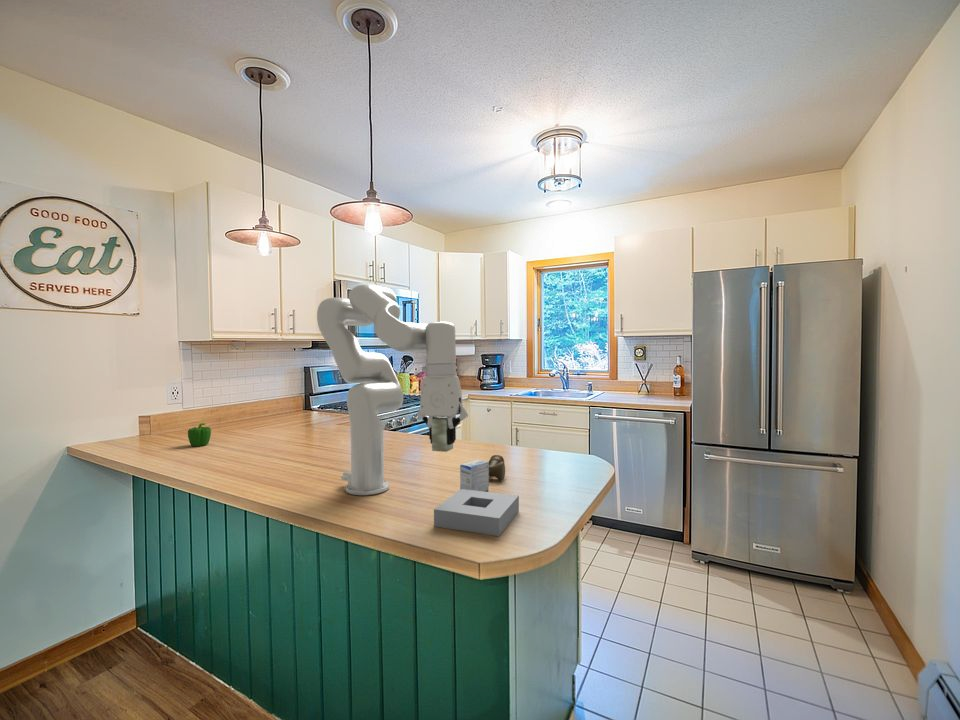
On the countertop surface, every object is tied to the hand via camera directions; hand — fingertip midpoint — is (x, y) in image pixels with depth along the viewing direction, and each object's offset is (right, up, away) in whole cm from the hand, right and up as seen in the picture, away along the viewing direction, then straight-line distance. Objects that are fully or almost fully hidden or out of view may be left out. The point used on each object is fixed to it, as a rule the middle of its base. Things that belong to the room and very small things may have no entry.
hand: (442, 442), depth 110 cm
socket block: (+9, -18, -4) cm, 20 cm away
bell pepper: (-114, -17, +81) cm, 141 cm away
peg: (0, -2, 0) cm, 2 cm away
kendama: (+13, -18, +32) cm, 39 cm away
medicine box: (+8, -18, +15) cm, 25 cm away
